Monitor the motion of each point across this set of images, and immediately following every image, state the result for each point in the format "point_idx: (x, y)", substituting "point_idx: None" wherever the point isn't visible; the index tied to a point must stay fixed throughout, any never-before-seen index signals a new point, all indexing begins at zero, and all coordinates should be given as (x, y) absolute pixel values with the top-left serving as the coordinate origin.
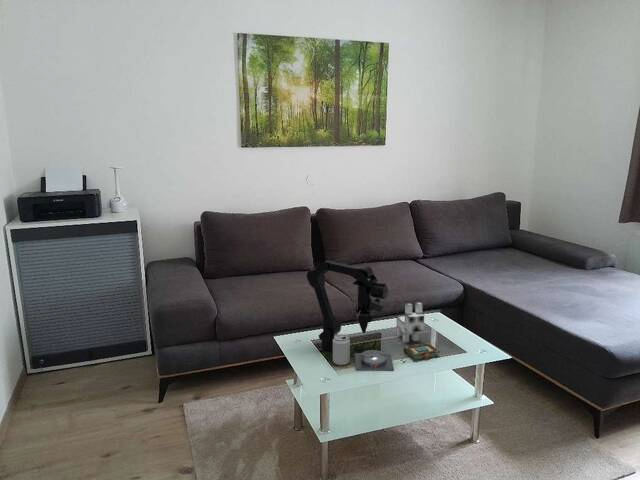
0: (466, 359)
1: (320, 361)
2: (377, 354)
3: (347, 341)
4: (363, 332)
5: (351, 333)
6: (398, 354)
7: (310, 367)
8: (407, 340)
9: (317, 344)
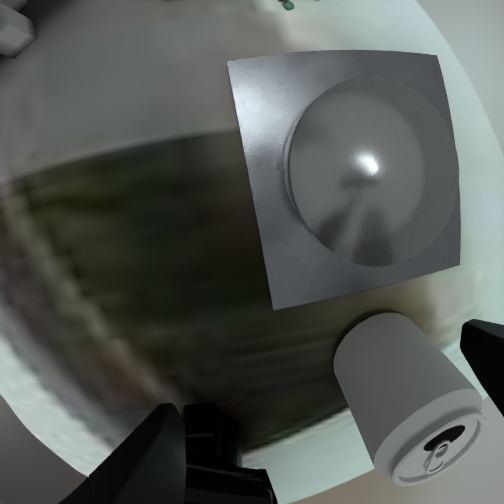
0: None
1: None
2: (370, 142)
3: (473, 398)
4: (473, 339)
5: (7, 347)
6: (196, 22)
7: None
8: (24, 21)
9: None
